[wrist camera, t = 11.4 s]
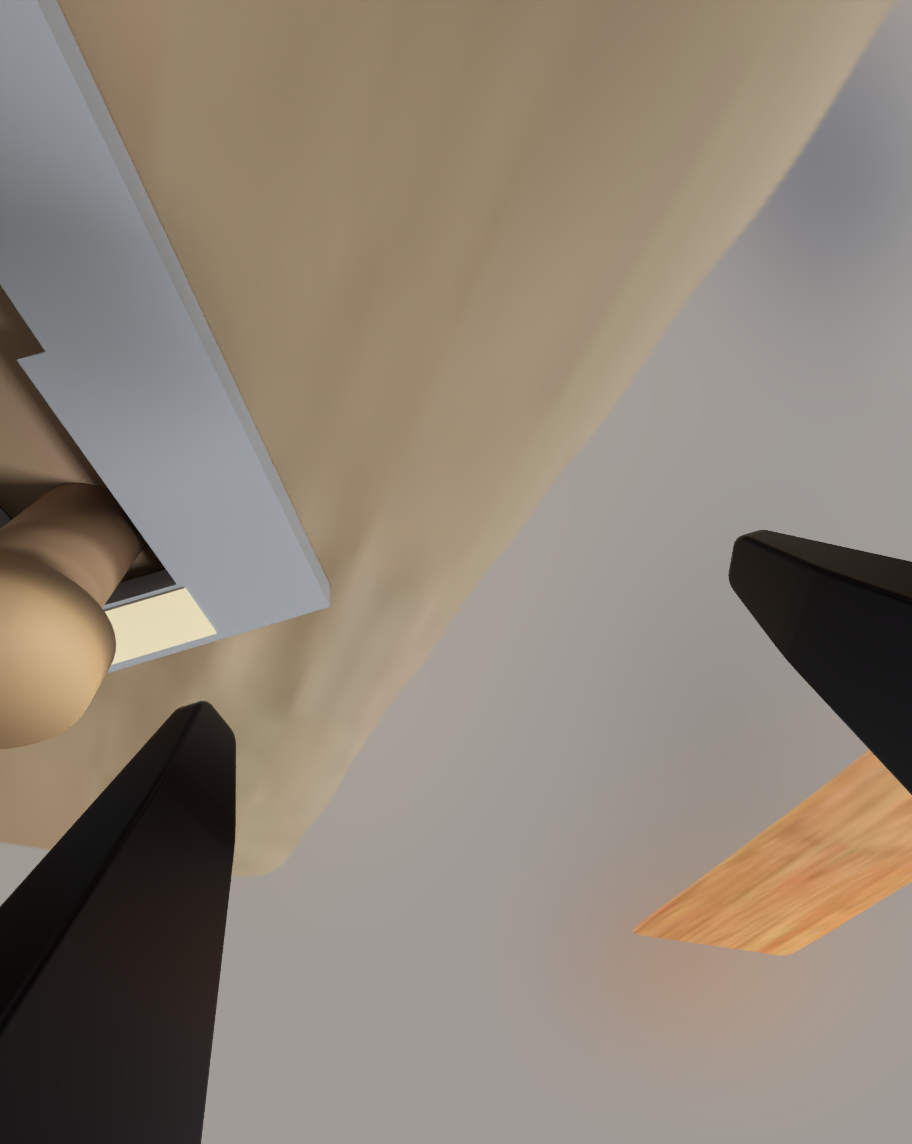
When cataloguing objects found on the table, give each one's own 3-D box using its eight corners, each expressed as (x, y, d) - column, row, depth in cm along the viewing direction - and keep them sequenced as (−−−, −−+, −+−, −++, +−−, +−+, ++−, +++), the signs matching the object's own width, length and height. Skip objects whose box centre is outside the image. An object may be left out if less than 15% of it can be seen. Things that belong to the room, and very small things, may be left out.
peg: (120, 437, 16) (-21, 550, 9) (203, 564, 19) (137, 712, 13) (-42, 480, 15) (-297, 627, 9) (69, 602, 18) (-65, 773, 12)
